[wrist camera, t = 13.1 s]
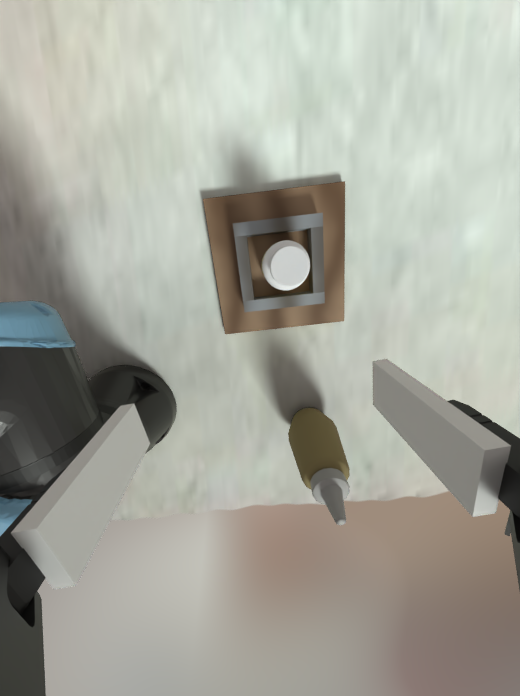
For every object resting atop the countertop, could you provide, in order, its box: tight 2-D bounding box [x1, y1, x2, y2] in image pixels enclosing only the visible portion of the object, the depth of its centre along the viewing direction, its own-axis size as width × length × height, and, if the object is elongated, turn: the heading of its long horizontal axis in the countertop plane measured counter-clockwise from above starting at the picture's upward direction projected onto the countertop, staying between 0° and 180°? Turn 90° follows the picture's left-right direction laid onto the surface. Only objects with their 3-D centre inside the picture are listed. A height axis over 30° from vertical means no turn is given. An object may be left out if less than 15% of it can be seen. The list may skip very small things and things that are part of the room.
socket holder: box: [203, 182, 345, 334], centre depth 33 cm, size 18×18×4 cm
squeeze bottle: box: [288, 408, 349, 525], centre depth 36 cm, size 8×8×18 cm
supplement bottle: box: [261, 240, 310, 290], centre depth 30 cm, size 5×5×10 cm
